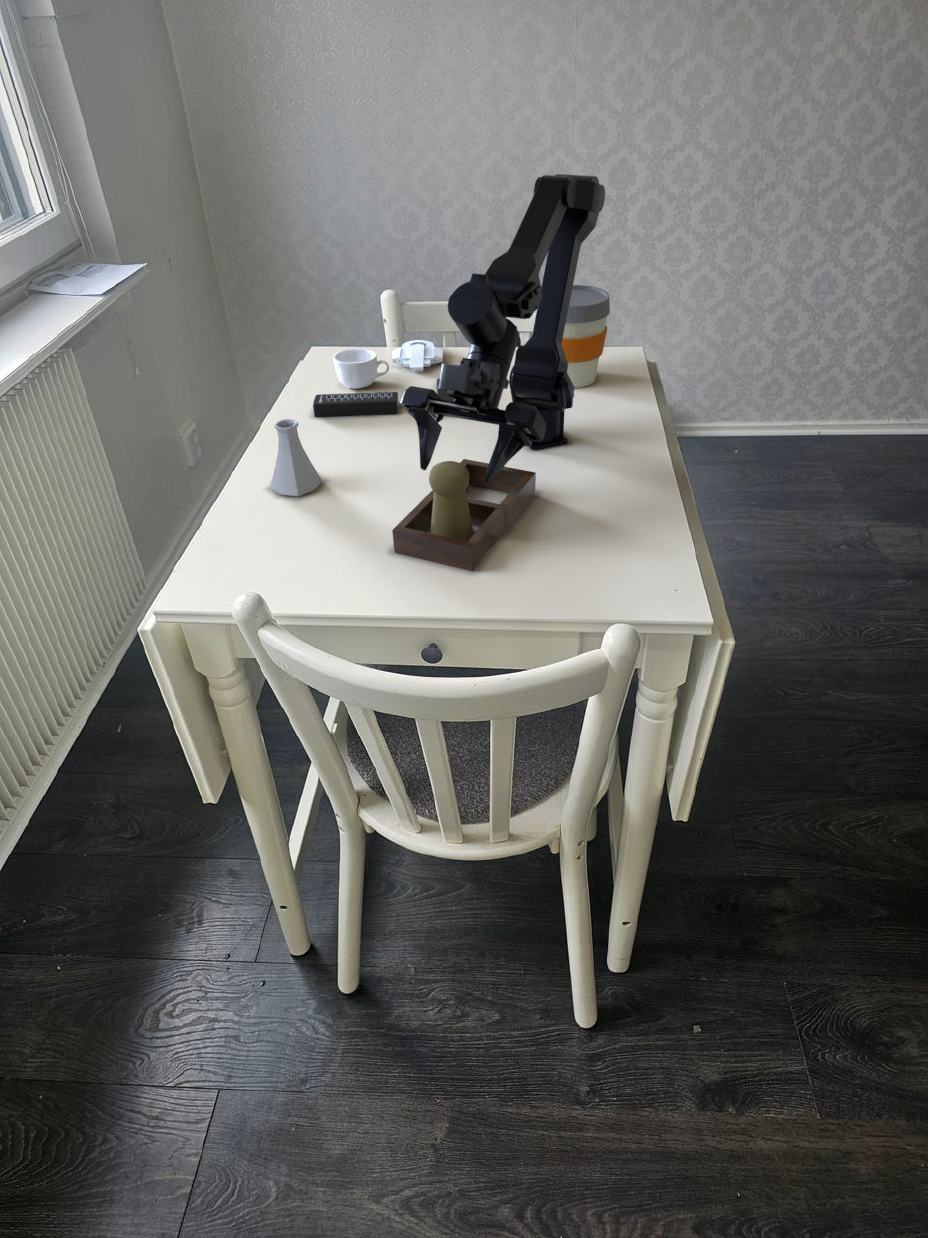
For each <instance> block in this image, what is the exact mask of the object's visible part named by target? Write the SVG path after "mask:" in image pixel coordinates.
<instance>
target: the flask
mask: <svg viewBox="0 0 928 1238" xmlns="http://www.w3.org/2000/svg"><path fill="white" fill-rule="evenodd" d="M273 427H274V429H276V431H277V437H278V442H277V443H278V444H277V445H278V447H277V448H278V449H277V455H276V460H275V464H274V465H275V466H274V470H273V474H272V478H271V482H270V489H271V490H273V491H275V492H276V493H277V494H278V495H281V496H292V497H300V496H302V495H305V494H308V493H310V492H313V491H315V490H316V489H317V488H318V487H319V485H320V484H321V483H322V481H323V480H322V478H321V476H320V474H319V473H318V471H317V469H316V468H315V466H314V465H313V463H312V461H311V460H310V458H309V456H308V454H307V452H306V451H305V448H304V447H303V445H302V442H301V440H300V436H299V431H298V427H299V421H297V420H295V419H291V418H285V419H281V420H278V421H277V422H276V423H275V424H274V425H273Z"/></svg>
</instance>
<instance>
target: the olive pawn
mask: <svg viewBox="0 0 928 1238" xmlns="http://www.w3.org/2000/svg"><path fill="white" fill-rule="evenodd" d="M428 482H429V486H430V489H431V491H432V490H433V491H434V497H433V508H432V520H431V524H430V532H429V533H431V534H435V535H440V536H444V537H449V538H453V539H457V540H462V541H466V542H468V541H469V539H470V538H471V537H472V536H473V535H474V534H475V532H474V528H473V525H472V522H471V516H470V511H469V505H468V500H467V498H468V494H467V488H468V487H469V486H470V485H469V472H468V470H467V468H466V467H465V466H464V465H463V464H461V463H460V462H459V461H454V460H445V461H441V462H438V463H436V464H435V465H433V466H432V467H431V469H430V470H429V475H428Z"/></svg>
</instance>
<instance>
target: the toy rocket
mask: <svg viewBox="0 0 928 1238" xmlns="http://www.w3.org/2000/svg"><path fill="white" fill-rule="evenodd" d="M443 350H444V349H443V348H440V347H435V344H434V343H433V342H432V341H429V340H424V339H413V340H408V341H405V342H404V343H403V344H402V345H401V347H399V348H397V349H393V350H392V354H391V355H392V356H391V360H392V361H391V363H392V364H395V365H400V366H403V368H409V372H420V371H424V367H425V368H426V367H428V368H429V367H431V365H436V364H439V363H443V354H444V353H443V352H444V351H443Z"/></svg>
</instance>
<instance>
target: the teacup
mask: <svg viewBox="0 0 928 1238" xmlns="http://www.w3.org/2000/svg"><path fill="white" fill-rule="evenodd" d="M333 364H334V369H335V373H336V374H335V375H336V376H337V379H338V380H339V382H340V383H341V384H342V385H343V386H345V387H346V388H349V389H353V390H358V389H365V388H367V387H369V386H370V385H372V384H373V383H374V381H375V380H376V378H379V377H382V376H384V375H386V374H387V373H388V372H389V371H390V364H389V363H388V362H387V361H386V360H381V359H380V360H378V356H377V353H376V351H374V350H372V349H368V348H348V349H343V350H341V351H338V352H335V354H334V355H333ZM381 364H384V365H385V366H386V370H385V371H383V372H378V368H379V366H381Z"/></svg>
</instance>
